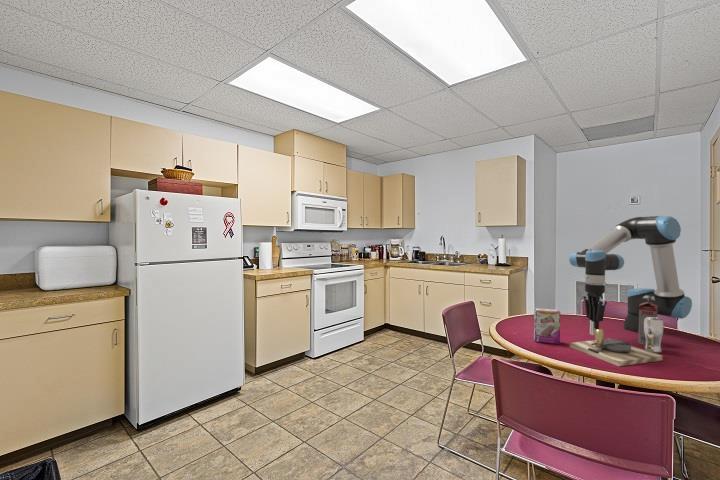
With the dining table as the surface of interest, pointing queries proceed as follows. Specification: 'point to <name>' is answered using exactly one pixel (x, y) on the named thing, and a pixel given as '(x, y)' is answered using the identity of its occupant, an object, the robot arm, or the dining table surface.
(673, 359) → the dining table surface
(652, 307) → the juice carton
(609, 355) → the stand
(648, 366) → the dining table surface
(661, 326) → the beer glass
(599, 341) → the grey round handled piece
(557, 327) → the candy bar box
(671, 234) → the robot arm
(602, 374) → the dining table surface
